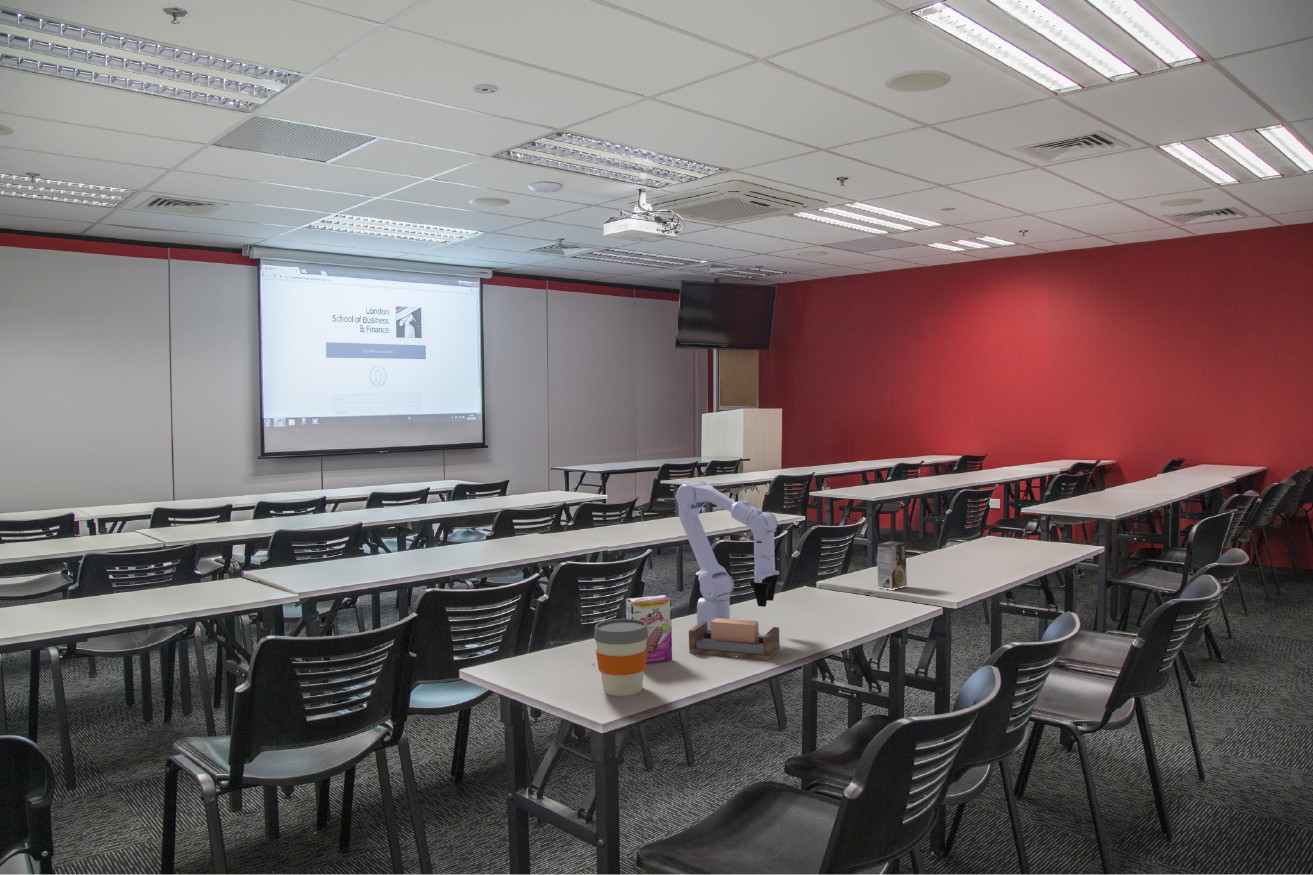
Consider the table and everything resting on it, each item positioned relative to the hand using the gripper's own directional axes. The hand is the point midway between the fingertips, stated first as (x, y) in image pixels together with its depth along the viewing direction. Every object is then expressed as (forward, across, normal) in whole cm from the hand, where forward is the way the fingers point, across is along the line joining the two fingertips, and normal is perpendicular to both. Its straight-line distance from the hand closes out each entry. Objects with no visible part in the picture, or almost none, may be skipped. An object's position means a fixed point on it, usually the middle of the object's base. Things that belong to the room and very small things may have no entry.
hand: (765, 603), depth 226 cm
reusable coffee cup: (+10, -54, +19) cm, 58 cm away
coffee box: (+10, +75, -25) cm, 80 cm away
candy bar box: (+10, -32, +22) cm, 40 cm away
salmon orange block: (+8, -17, +4) cm, 19 cm away
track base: (+9, -17, +4) cm, 20 cm away
